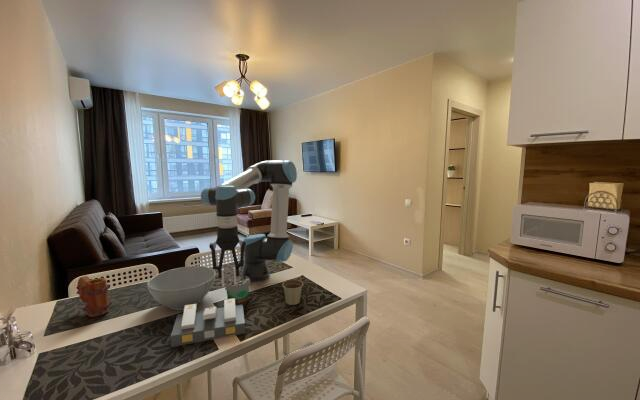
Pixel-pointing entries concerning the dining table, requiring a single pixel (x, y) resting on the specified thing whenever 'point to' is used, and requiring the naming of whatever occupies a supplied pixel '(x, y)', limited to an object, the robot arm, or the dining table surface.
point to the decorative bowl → (181, 286)
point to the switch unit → (208, 327)
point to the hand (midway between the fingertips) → (229, 284)
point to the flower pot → (292, 291)
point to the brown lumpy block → (94, 295)
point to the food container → (239, 291)
